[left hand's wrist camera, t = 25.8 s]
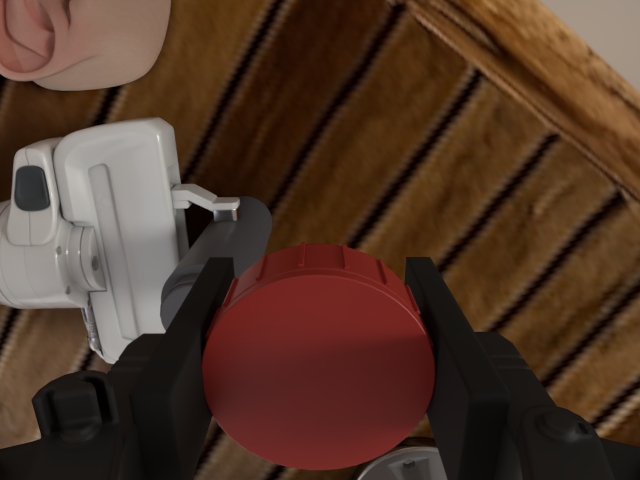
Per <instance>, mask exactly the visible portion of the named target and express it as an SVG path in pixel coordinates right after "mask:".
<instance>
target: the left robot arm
mask: <svg viewBox="0 0 640 480" xmlns="http://www.w3.org/2000/svg"><path fill="white" fill-rule="evenodd" d="M234 278H235V273H234V260H233V257H209V259H208V261H207V263H206V264H205V266H204V268H203V269H202V271H201V273H200V274H199V276H198V278H197V279H196V281H195V283H194V285H193V286H192V288H191V290H190V291H189V293H188V295H187V296H186V298H185V300H184V301H183V303H182V305H181V307H180V308H179V310H178V312H177V313H176V315H175V317H174V318H173V320H172V322H171V323H170V325H169V327H168V329H167V330H166V332H165V333H143V334H142V335H140V336H139V337H138V338H136V339H135V340H133V341H132V342H131V343H129V344H128V345H127V346H126V348H125V349H124V351H123V352H122V353H121V355H120V356H119V359H118V360H117V361H116V362H115V363H114V365H113V366H112V368H111V371H109V372H108V373H107V374H106V373H103V372H99V371H95V370H90V371H78V372H74V373H70V374H67V375H64V376H62V377H59V378H57V379H55V380H53V381H51V382H49V383H48V384H47V385H45V386H44V387H42V388H41V389H40V390H39V391H38V392H37V393H36V395H35V396H34V397H33V399H32V404H33V407H34V411H35V414H36V418H37V422H38V425H39V429H40V433H41V436H42V437H41V439H39V440H36V441H33V442H29V443H25V444H20V445H16V446H12V447H7V448H3V449H0V480H192V479H193V476H194V473H195V469H196V466H197V463H198V460H199V457H200V453H201V450H202V447H203V444H204V441H205V437H206V434H207V431H208V428H209V425H210V421H211V418H212V413H211V411H210V409H209V407H208V405H207V402H206V398H205V390H204V381H203V372H202V355H203V351H204V348H205V345H206V341H207V340H205V336H206V334H207V331H208V329H209V327H210V324H211V322H212V320H213V317H214V315H215V313H216V310H217V308H221V306H222V303H223V301H224V299H225V297H226V295H227V293H228V290H229V288H230V286H231V283H232V281H233V279H234ZM404 285H405V286H406V285H408V286H409V287H410V290H411V292H412V295H413V297H414V300H415V302H416V304H417V307H418V309H419V312H420V314H419V316H420V317H422V319H423V321H424V324H425V326H426V329H427V331H428V334H429V336H430V338H431V341H432V343H433V346H434V349H432V350H433V354H434V358H435V367H436V376H435V386H434V391H433V395H432V398H431V401H430V403H429V406H428V408H427V410H426V413H427V416H428V419H429V422H430V425H431V429H432V432H433V435H434V438H435V439H427V438H414V439H405V440H403V441H401V442H400V443H399V444H398V445H396V446H395V447H394V448H392V449H390V450H389V451H387V452H386V453H384V454H382V455H380V456H378V457H376V458H374V459H372V460H369V461H366V462H364V463H361V464H360V465H359V467H358V468H357V470H356V472H355V473H354V476H353V478H352V480H640V447H636V446H632V445H628V444H623V443H619V442H614V441H610V440H607V439H604V438H600V437H599V436H598V435H597V433H596V431H595V430H594V428H593V427H592V426H591V425H590V424H589V423H588V422H587V421H586V420H584V419H583V418H582V417H581V416H579V415H577V414H575V413H573V412H571V411H569V410H567V409H564V408H561V407H557V406H556V404H555V403H554V402H553V400H552V399H551V397H550V396H549V394H548V393H547V392H546V390H545V389H544V387H543V386H542V385H541V383H540V382H539V380H538V379H537V377H536V376H535V375H534V373H533V372H532V370H529V366H528V365H527V363H526V362H525V360H524V359H522V358H521V355H520V353H519V352H518V351H517V349H516V348H515V346H514V345H513V343H511V342H510V341H509V340H507V339H506V338H504V337H503V336H501V335H500V334H499V333H497V332H474V331H473V329H472V327H471V326H470V324H469V322H468V321H467V319H466V317H465V315H464V314H463V312H462V310H461V309H460V307H459V305H458V304H457V302H456V300H455V299H454V297H453V295H452V293H451V292H450V290H449V288H448V287H447V285H446V283H445V282H444V280H443V278H442V277H441V275H440V273H439V271H438V270H437V268H436V266H435V265H434V263H433V261H432V260H431V258H430V257H406V270H405V283H404Z"/></svg>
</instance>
